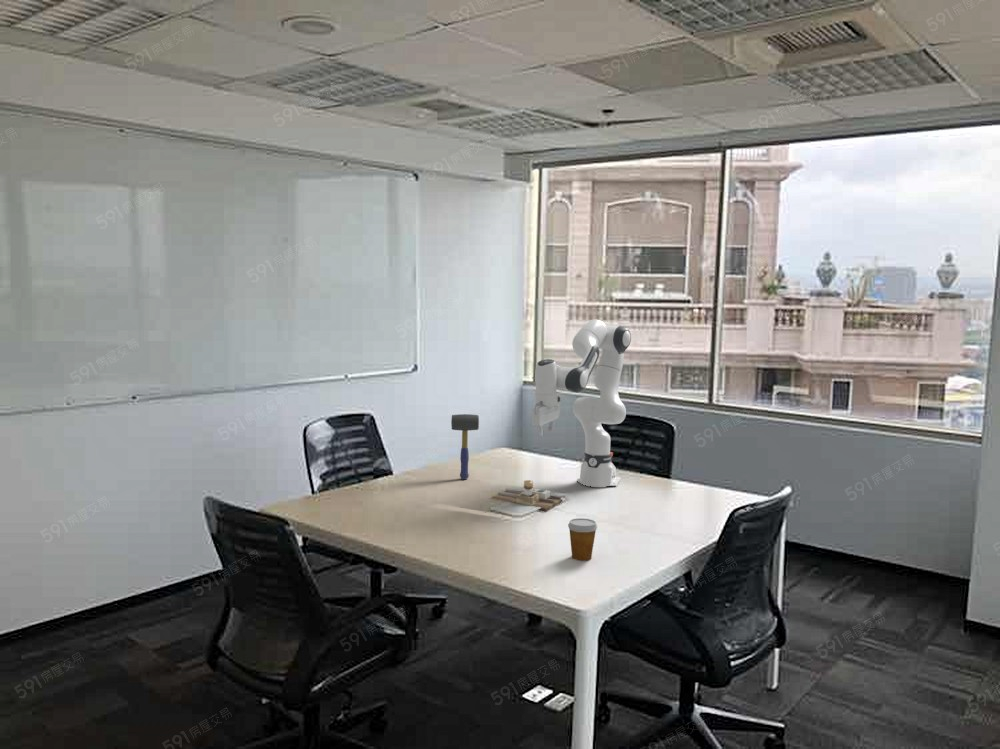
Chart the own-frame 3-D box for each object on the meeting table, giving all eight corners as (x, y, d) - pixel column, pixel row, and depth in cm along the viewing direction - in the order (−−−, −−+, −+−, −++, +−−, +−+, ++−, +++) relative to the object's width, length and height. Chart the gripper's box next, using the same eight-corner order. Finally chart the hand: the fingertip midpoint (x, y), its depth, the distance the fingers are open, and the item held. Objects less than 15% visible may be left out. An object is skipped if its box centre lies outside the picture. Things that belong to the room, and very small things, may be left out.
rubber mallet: (477, 477, 369) (478, 412, 366) (478, 481, 362) (479, 415, 359) (450, 477, 368) (451, 412, 365) (450, 481, 361) (451, 415, 357)
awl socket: (523, 499, 327) (523, 491, 327) (539, 501, 324) (539, 494, 324) (516, 502, 321) (516, 495, 321) (531, 505, 318) (532, 498, 318)
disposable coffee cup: (593, 553, 267) (595, 517, 266) (598, 562, 258) (599, 526, 256) (565, 552, 267) (566, 517, 265) (568, 562, 257) (569, 526, 256)
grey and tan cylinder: (525, 500, 325) (526, 479, 324) (533, 501, 323) (534, 481, 322) (521, 502, 322) (522, 481, 321) (530, 503, 320) (530, 483, 319)
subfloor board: (505, 493, 341) (506, 488, 340) (562, 502, 329) (562, 496, 328) (488, 502, 327) (488, 496, 326) (546, 511, 315) (546, 505, 314)
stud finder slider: (532, 494, 333) (532, 487, 333) (550, 496, 329) (550, 489, 329) (527, 496, 329) (527, 489, 328) (545, 499, 325) (545, 492, 325)
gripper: (542, 404, 315) (542, 438, 317) (562, 396, 333) (562, 429, 335) (527, 403, 318) (527, 437, 319) (548, 395, 336) (548, 427, 337)
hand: (545, 433), depth 327 cm, fingers open, 8 cm apart
